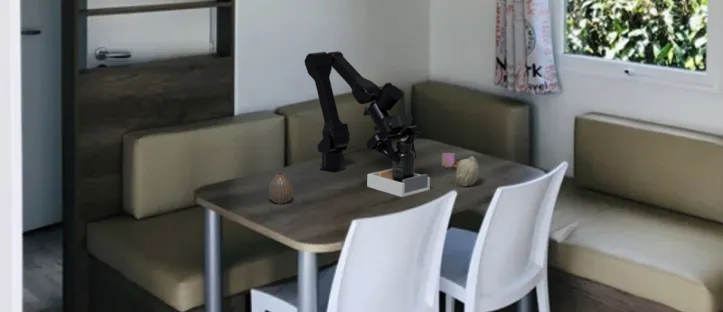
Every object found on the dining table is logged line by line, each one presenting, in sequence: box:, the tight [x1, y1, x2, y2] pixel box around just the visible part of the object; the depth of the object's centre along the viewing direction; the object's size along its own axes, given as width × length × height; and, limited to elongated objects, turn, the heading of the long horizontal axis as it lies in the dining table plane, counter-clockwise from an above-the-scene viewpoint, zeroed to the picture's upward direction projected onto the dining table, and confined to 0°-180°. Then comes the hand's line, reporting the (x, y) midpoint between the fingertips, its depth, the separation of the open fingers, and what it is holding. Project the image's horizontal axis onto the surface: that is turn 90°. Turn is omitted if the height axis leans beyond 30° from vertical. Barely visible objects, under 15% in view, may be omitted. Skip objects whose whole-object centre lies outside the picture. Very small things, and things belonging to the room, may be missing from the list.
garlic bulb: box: [455, 155, 480, 187], centre depth 303 cm, size 9×8×10 cm
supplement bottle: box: [391, 140, 416, 183], centre depth 296 cm, size 7×7×12 cm
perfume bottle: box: [441, 152, 460, 171], centre depth 326 cm, size 12×12×4 cm
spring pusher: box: [377, 168, 393, 180], centre depth 302 cm, size 3×9×4 cm, turn 133°
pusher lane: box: [366, 168, 431, 198], centre depth 299 cm, size 15×12×5 cm
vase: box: [268, 172, 294, 205], centre depth 283 cm, size 7×7×9 cm
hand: (406, 160), depth 295 cm, fingers closed on supplement bottle, 7 cm apart
